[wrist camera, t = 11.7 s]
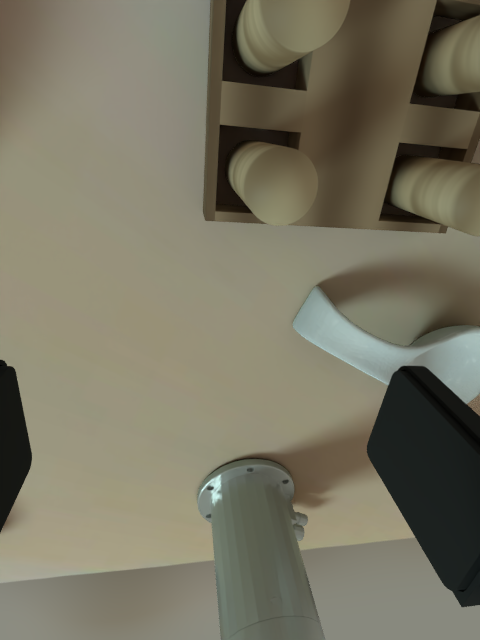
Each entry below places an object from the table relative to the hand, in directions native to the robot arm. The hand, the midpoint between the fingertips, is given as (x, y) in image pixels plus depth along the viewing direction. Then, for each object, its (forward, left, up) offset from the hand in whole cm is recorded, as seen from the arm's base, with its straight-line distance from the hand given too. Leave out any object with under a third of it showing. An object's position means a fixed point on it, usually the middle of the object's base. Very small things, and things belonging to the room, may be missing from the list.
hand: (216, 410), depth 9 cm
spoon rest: (-25, 0, -23) cm, 34 cm away
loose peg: (-2, -6, -23) cm, 24 cm away
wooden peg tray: (-6, -12, -23) cm, 26 cm away
